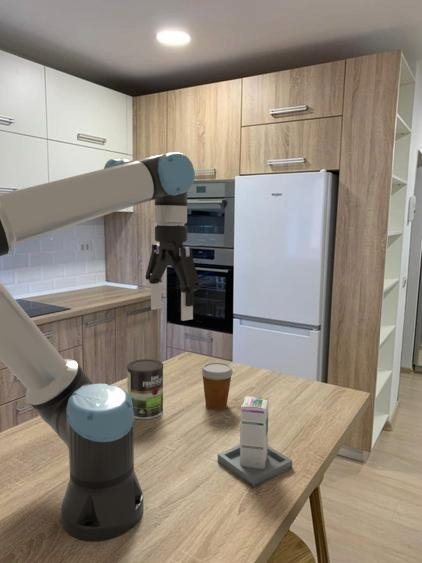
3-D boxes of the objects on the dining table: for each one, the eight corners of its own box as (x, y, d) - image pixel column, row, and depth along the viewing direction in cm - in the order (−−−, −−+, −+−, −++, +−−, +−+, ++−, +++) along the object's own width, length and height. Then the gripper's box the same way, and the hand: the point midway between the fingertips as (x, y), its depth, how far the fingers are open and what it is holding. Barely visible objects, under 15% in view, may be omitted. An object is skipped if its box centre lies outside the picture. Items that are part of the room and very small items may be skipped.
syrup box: (265, 470, 93) (267, 408, 91) (238, 466, 94) (240, 405, 92) (267, 456, 98) (269, 397, 96) (242, 452, 100) (244, 395, 97)
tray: (253, 487, 88) (253, 479, 87) (217, 461, 97) (217, 454, 97) (292, 467, 95) (292, 460, 95) (255, 444, 104) (255, 438, 104)
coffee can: (170, 412, 121) (170, 365, 119) (139, 423, 114) (139, 374, 112) (150, 400, 129) (150, 356, 126) (120, 410, 122) (120, 363, 120)
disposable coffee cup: (226, 415, 120) (227, 375, 118) (195, 409, 123) (196, 370, 121) (235, 401, 129) (236, 364, 127) (206, 396, 132) (207, 360, 130)
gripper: (217, 226, 90) (215, 322, 93) (157, 223, 109) (157, 303, 113) (188, 226, 85) (187, 327, 89) (131, 223, 105) (132, 306, 108)
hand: (170, 314), depth 101 cm, fingers open, 13 cm apart
